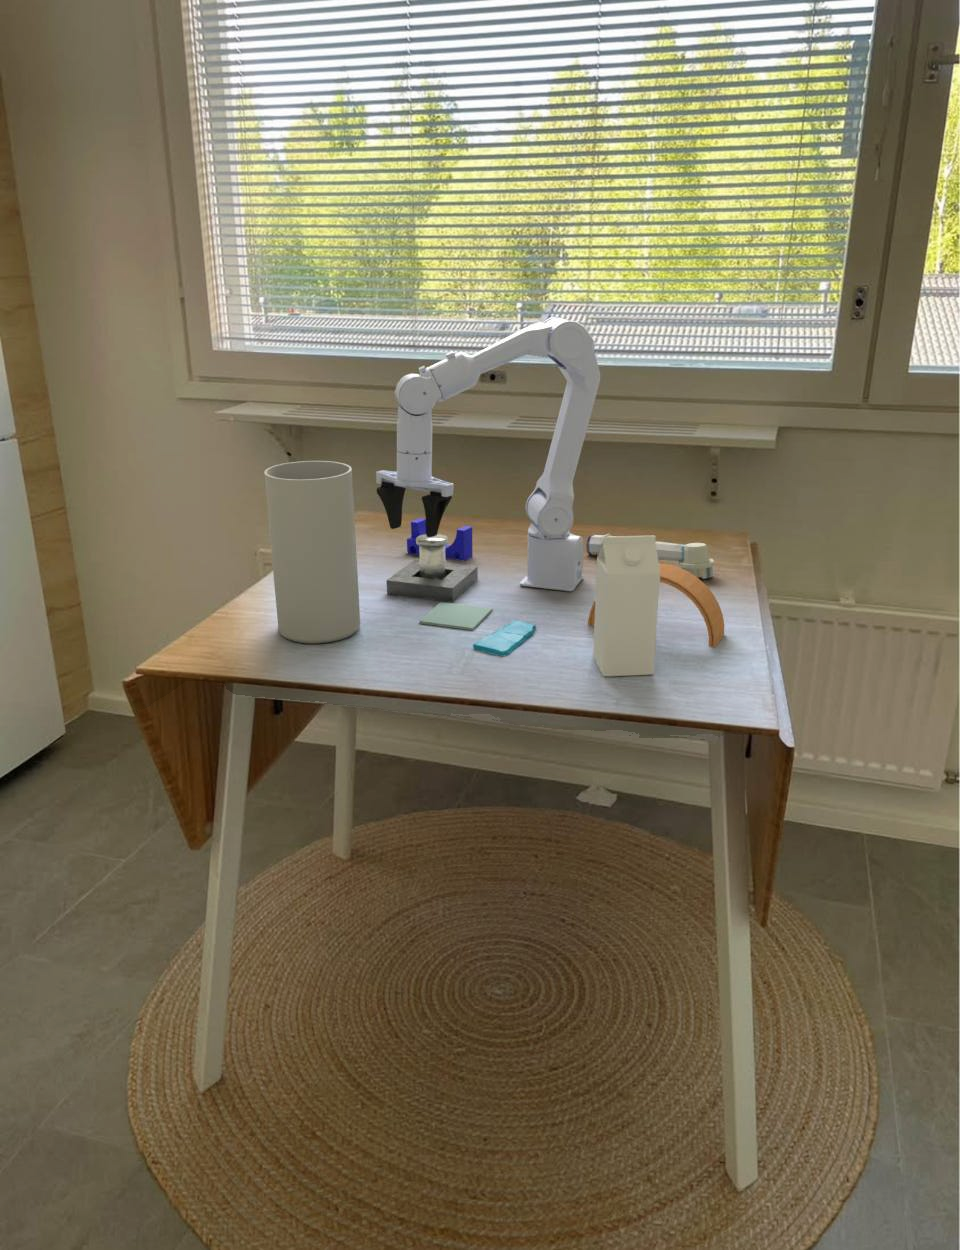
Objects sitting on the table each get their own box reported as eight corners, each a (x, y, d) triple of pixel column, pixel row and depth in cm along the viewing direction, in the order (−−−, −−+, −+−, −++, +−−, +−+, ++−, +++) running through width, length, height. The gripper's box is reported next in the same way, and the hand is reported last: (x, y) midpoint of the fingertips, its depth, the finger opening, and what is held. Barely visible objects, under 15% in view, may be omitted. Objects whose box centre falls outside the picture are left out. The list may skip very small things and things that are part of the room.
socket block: (477, 579, 170) (477, 566, 169) (452, 602, 160) (452, 588, 159) (415, 572, 174) (414, 559, 173) (387, 594, 164) (386, 580, 163)
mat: (492, 610, 156) (492, 608, 156) (473, 630, 148) (473, 628, 148) (441, 604, 159) (440, 601, 159) (419, 623, 151) (419, 620, 151)
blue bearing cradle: (407, 553, 185) (406, 523, 183) (420, 547, 189) (419, 518, 187) (459, 563, 179) (459, 532, 177) (472, 557, 183) (472, 526, 181)
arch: (600, 614, 155) (603, 554, 151) (724, 635, 146) (730, 573, 143) (587, 626, 150) (589, 565, 147) (714, 648, 142) (720, 584, 138)
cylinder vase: (377, 629, 149) (369, 469, 140) (310, 652, 141) (297, 484, 131) (327, 609, 157) (317, 457, 148) (262, 630, 149) (247, 470, 140)
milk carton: (592, 657, 139) (598, 529, 132) (641, 655, 139) (649, 528, 132) (602, 677, 132) (608, 545, 125) (653, 675, 133) (662, 543, 126)
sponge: (547, 627, 148) (516, 615, 150) (504, 653, 139) (471, 640, 141) (546, 636, 148) (515, 624, 151) (503, 663, 139) (470, 649, 142)
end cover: (453, 583, 168) (452, 535, 165) (441, 593, 164) (440, 544, 161) (425, 580, 170) (423, 532, 167) (412, 590, 166) (411, 541, 162)
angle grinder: (598, 531, 185) (718, 536, 170) (600, 564, 187) (719, 573, 171) (583, 537, 182) (704, 543, 166) (586, 571, 183) (706, 580, 168)
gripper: (364, 448, 157) (364, 528, 162) (436, 461, 150) (434, 545, 154) (391, 442, 162) (390, 520, 167) (461, 454, 155) (459, 535, 160)
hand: (413, 531), depth 161 cm, fingers open, 7 cm apart
